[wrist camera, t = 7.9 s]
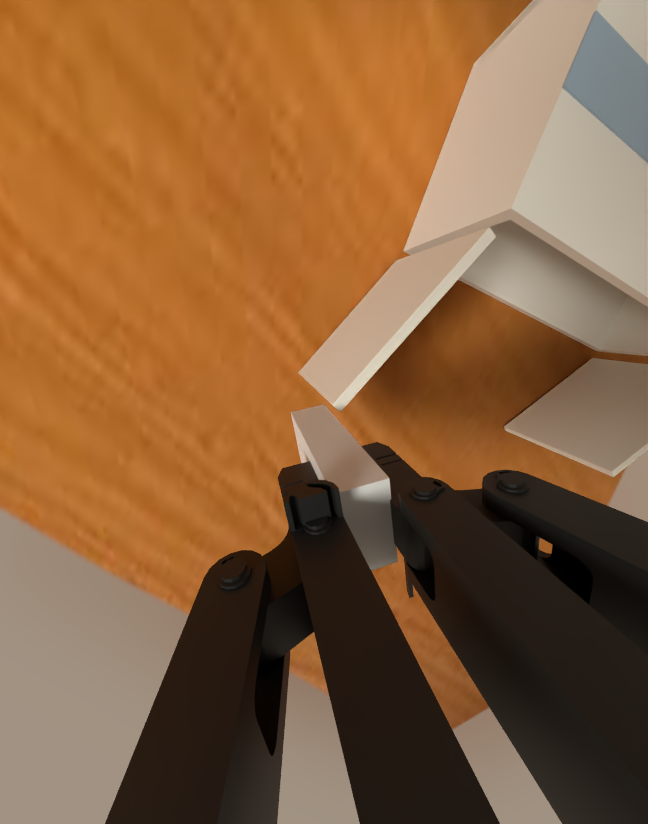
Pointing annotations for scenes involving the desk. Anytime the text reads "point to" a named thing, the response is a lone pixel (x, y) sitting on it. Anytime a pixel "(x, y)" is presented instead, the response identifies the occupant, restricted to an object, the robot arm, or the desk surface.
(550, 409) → the right flap
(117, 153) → the desk surface
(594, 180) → the carton
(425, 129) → the desk surface
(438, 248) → the left flap
